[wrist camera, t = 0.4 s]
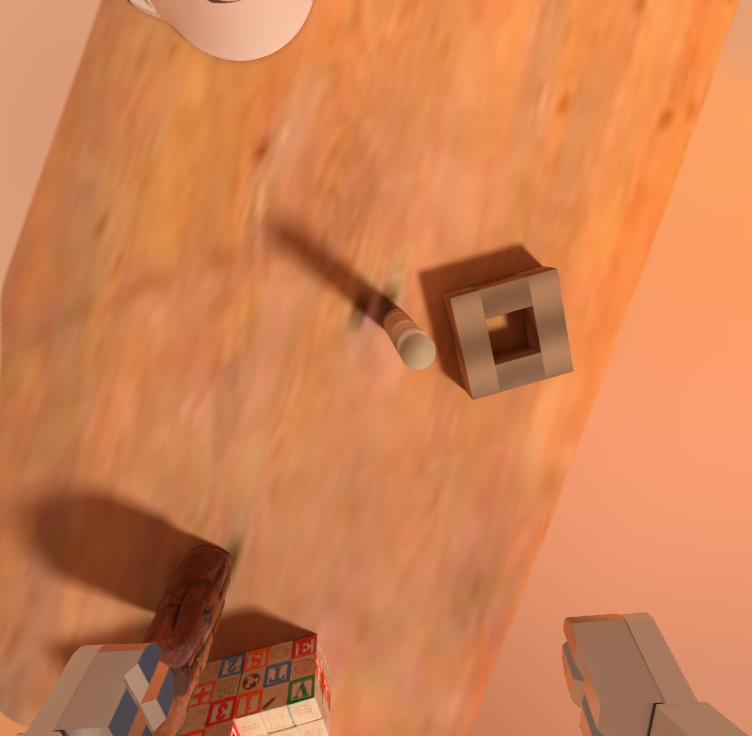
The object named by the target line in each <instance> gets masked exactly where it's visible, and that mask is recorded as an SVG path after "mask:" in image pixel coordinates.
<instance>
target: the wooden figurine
mask: <svg viewBox="0 0 752 736" xmlns="http://www.w3.org/2000/svg"><path fill="white" fill-rule="evenodd" d="M231 569H232V565H231V555H230V554H228V553H227V552H225V551H224V550H220V549H217V548H213V547H206V546H200V547H198V548H196V549H194V550H192V551H191V552H190V553H189V554H188V555H187V557H186V558H185V559H184V561H183V562H182V564H181V566H180V568H179V570H178V571H177V573H176V575H175V577H174V579H173V580H172V582H171V584H170V586H169V587H168V589H167V591H166V593H165V595H164V597H163V600H162V602H161V605H160V607H159V608H158V610H157V613H156V615H155V617H154V619H153V621H152V623H151V625H150V627H149V629H148V631H147V634H146V636H145V639H144V642H143V643H156V642H157V644H158V645H159V647H160V649H161V651H162V655H161V658H160V660H159V661H161V662H162V663H164V664H166V665H167V666H169V667H170V670H171V672H172V674H173V680H174V692H173V699H172V704H171V707H170V710H169V712H168V715H167V718H166V719H165V720H164V722H163V723H162V724H161V725H160V726H159V727H158V728H157V729H156V730H155V731H154V733H155V736H174V735H175V734H176V733H177V732H178V730H179V729H180V728H181V726H182V724H183V722H184V720H185V718H186V716H187V713H188V710H189V707H190V705H191V703H192V701H193V698H194V692H195V689H196V686H197V684H198V679H199V675H200V674H201V673H202V670H203V669H204V668H205V665H206V662H207V659H208V656H209V652H210V647H211V645H212V642H213V640H214V637H215V634H216V631H217V628H218V625H219V622H220V618H221V615H222V611H223V607H224V604H225V595H226V592H227V589H228V585H229V582H230V576H231Z"/></svg>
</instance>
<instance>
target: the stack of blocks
mask: <svg viewBox="0 0 752 736" xmlns="http://www.w3.org/2000/svg"><path fill="white" fill-rule="evenodd" d="M174 736H330V670H329V668H328V665H327V662H326V659H325V656H324V653H323V649H322V646H321V643H320V640H319V638H318V635H313V636H309V637H306V638H302V639H298V640H295V641H288V642H284V643H280V644H276V645H273V646H271V647H265V648H261V649H257V650H253V651H249V652H247V653H244V654H240V655H236V656H232V657H228V658H224V659H222V660H217V661H214V662H210V663H206V665H205V668H204V669H203V670H202V673H201V674H200V675H199V679H198V684H197V686H196V689H195V692H194V698H193V701H192V703H191V705H190V707H189V710H188V713H187V716H186V718H185V720H184V722H183V724H182V726H181V728H180V729H179V730H178V732H177V733H176V734H175V735H174Z"/></svg>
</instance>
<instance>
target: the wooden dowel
mask: <svg viewBox="0 0 752 736" xmlns="http://www.w3.org/2000/svg"><path fill="white" fill-rule="evenodd" d="M383 327H384V329H385V331H386V332H387V334H388V336H389V338H390V339H391V341H392V343H393V345H394V346H395V348H396V350H397V352H398V353H399V355H400V357H401V358H402V360H403V362H404V363H405V364H406V365H407V366H408V367H409V368H412V369H416V370H419V369H424V368H426V367H428V366H429V365H430V364H431V363H432V362H433V360H434V358H435V355H436V348H435V345H434V343H433V342H432V340H431V339H430V338H429V337H428V336H427V335H426V334H425V333H424V332H423V331H422V330H421V329H420V328H419V327H418V326H417V325H416V323H415V322H414V321H413V320H412V319H411V318H410V317H409V316H408V315H407V314H406V313H405V312H404V311H403V310H400V309H392V310H390V311H388V312H387V313H386V314H385V315H384V318H383Z"/></svg>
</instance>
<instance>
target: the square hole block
mask: <svg viewBox="0 0 752 736" xmlns="http://www.w3.org/2000/svg"><path fill="white" fill-rule="evenodd" d="M443 299H444V303H445V307H446V312H447V316H448V320H449V325H450V329H451V334H452V338H453V342H454V347H455V351H456V355H457V360H458V364H459V368H460V373H461V377H462V382H463V386H464V390H465V391H466V392H467V393H468V395H469V396H470V397H471V398H472V399H473V400H474V399H478V398H481V397H485V396H488V395H492V394H495V393H499V392H502V391H506V390H509V389H513V388H516V387H520V386H523V385H527V384H530V383H534V382H537V381H541V380H544V379H548V378H551V377H555V376H558V375H562V374H565V373H569V372H572V371H573V365H572V359H571V353H570V347H569V340H568V334H567V328H566V322H565V316H564V310H563V303H562V297H561V291H560V285H559V279H558V272H557V268H551V267H545V266H541V267H538V268H534V269H530V270H527V271H523V272H520V273H516V274H513V275H509V276H506V277H502V278H498V279H495V280H491V281H488V282H484V283H481V284H477V285H474V286H470V287H466V288H463V289H459V290H456V291H452V292H449V293H445V294H443ZM520 309H522V313H523V318H524V324H525V329H526V334H527V340H528V345H526V346H523V347H519V348H516V349H512V350H509V351H505V352H502V353H498V354H495V355H493V354H492V349H491V344H490V339H489V334H488V329H487V325H486V320H485V319H488V318H492V317H495V316H499V315H502V314H506V313H509V312H513V311H516V310H520Z"/></svg>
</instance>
